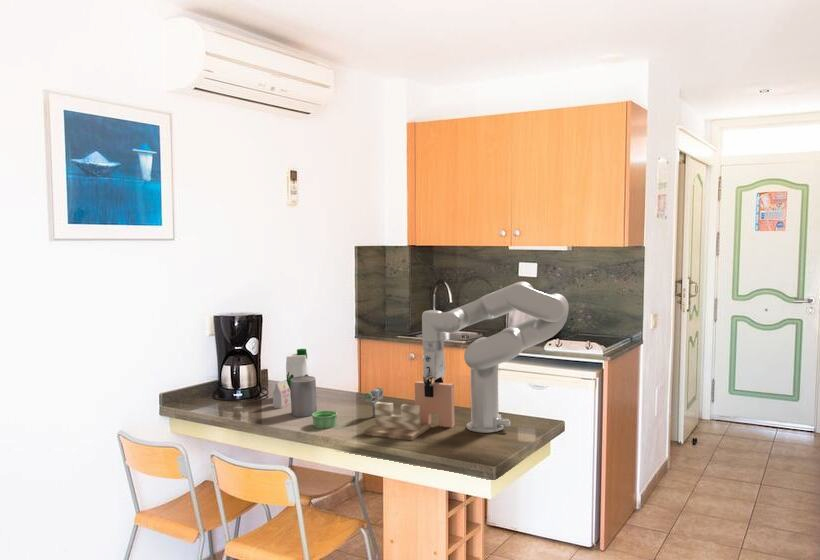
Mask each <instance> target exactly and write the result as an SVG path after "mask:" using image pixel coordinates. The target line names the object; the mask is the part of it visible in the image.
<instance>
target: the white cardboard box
mask: <svg viewBox="0 0 820 560" xmlns="http://www.w3.org/2000/svg"><path fill="white" fill-rule="evenodd" d="M272 401H273V402H272V406H273V407H274V409H283V407H284V408H286V407H288V406H290V404H291V395H290V388H289V386H288V383H287V379H284V380H282V381H279V382H276V383H275V386H274V389H273V392H272ZM285 406H286V407H285Z"/></svg>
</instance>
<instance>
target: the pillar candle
mask: <svg viewBox="0 0 820 560" xmlns="http://www.w3.org/2000/svg"><path fill="white" fill-rule="evenodd" d="M290 387H291V406H290V407H291V416H292V417H295V416H297V418H305V417H312V414H313V413H315V412H318V406H317V385H316V377H315V376H313V375H308V376H299V377H294V378H291V379H290Z"/></svg>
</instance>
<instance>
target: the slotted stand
mask: <svg viewBox="0 0 820 560" xmlns="http://www.w3.org/2000/svg"><path fill="white" fill-rule="evenodd" d="M394 412H395V411H394V402H386V401H385V402H384V401H378V402H376V403H375V417H374V424H373V425H371V426H370V427H368V428H366V429H365V430H364V431H363V433H364V436H370V435H371V436H372V437H379V436H380V437H381V438H387V437H388V438H389V439H396V438H397V440H398V439H399V440H404V441H405V440H406V441H407V440H408V441H413V440H415V439H416V438H418V437H419V436H422V435H423V434H424V433H425V432H426V431H428V430H429V429H430V428H431V424H426V423H420V405H415V404H408V403H407V404H406V403H403V404H402V405H400V414H395V413H394Z"/></svg>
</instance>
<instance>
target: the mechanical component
mask: <svg viewBox="0 0 820 560" xmlns="http://www.w3.org/2000/svg"><path fill="white" fill-rule="evenodd" d="M364 397H365V402H366V403H371V404H370V405H371V406H372V417H373V418H375V403H376V402H379V401H380V400H383V398H384V388H383V387H382V388H381V387H376V388H373V389H370V392H366V393H365V396H364Z"/></svg>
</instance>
